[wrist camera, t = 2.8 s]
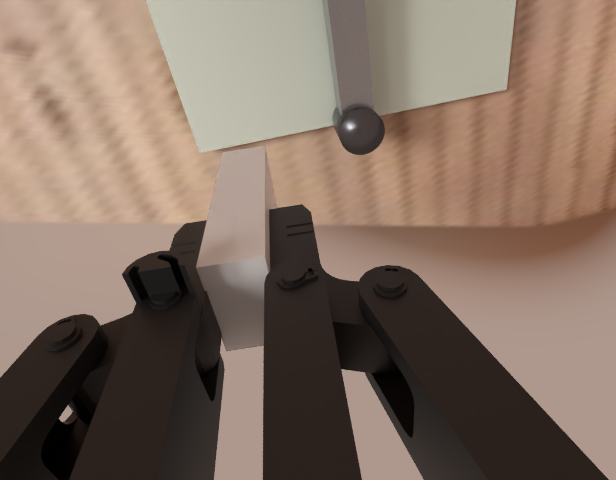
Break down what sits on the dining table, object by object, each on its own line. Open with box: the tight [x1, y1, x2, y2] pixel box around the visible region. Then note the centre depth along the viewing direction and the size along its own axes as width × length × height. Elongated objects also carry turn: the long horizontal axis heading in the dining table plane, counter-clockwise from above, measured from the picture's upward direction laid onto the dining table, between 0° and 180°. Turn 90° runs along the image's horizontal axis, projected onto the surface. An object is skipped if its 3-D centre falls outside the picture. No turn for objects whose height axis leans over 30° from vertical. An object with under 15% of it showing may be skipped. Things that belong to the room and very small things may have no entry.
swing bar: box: [322, 0, 385, 155], centre depth 23 cm, size 13×3×4 cm, turn 10°
